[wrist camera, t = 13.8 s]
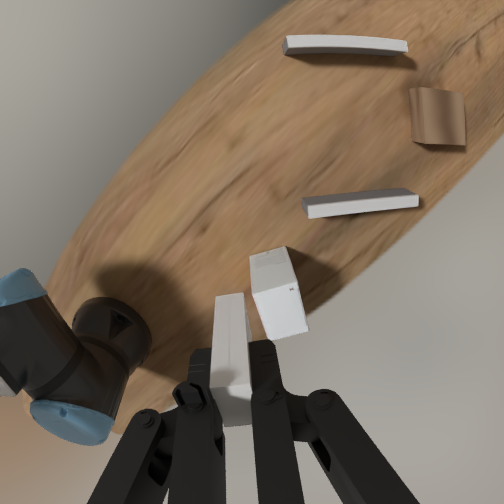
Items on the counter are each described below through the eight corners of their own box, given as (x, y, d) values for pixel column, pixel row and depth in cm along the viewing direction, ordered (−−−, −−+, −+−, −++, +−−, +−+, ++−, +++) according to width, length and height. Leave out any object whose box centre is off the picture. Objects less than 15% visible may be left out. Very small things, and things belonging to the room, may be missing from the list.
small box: (248, 254, 45) (250, 292, 35) (286, 244, 44) (297, 280, 35) (263, 299, 48) (267, 343, 38) (297, 290, 47) (310, 332, 38)
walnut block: (411, 140, 38) (425, 143, 35) (407, 88, 35) (421, 87, 31) (450, 142, 38) (465, 145, 34) (447, 93, 35) (462, 93, 31)
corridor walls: (302, 208, 42) (309, 218, 38) (282, 44, 33) (286, 35, 28) (403, 197, 41) (418, 206, 37) (391, 46, 32) (406, 41, 28)
